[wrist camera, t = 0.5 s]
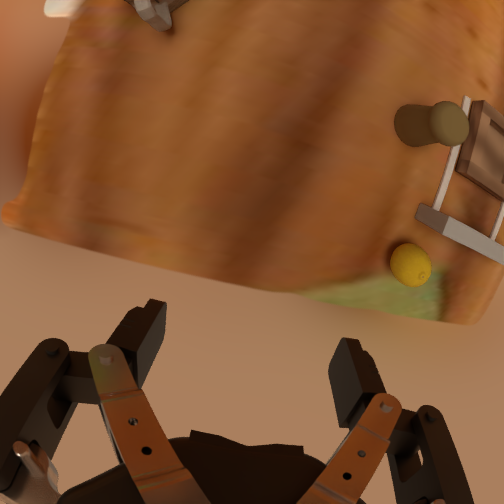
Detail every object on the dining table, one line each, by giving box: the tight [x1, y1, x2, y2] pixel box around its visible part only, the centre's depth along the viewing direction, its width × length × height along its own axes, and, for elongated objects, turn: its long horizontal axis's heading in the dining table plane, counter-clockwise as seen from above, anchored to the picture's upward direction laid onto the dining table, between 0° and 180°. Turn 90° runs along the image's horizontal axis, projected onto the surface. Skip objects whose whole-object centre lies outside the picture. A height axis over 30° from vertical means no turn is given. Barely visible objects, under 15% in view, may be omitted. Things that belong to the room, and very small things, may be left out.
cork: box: [394, 101, 469, 147], centre depth 29 cm, size 6×6×11 cm
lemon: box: [390, 243, 432, 287], centre depth 37 cm, size 6×6×8 cm
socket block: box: [455, 100, 504, 202], centre depth 32 cm, size 12×12×3 cm
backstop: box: [415, 95, 504, 265], centre depth 32 cm, size 21×20×8 cm
